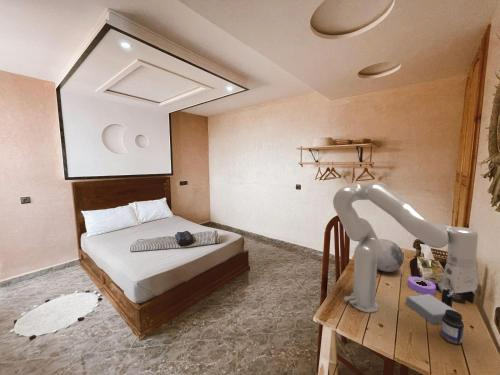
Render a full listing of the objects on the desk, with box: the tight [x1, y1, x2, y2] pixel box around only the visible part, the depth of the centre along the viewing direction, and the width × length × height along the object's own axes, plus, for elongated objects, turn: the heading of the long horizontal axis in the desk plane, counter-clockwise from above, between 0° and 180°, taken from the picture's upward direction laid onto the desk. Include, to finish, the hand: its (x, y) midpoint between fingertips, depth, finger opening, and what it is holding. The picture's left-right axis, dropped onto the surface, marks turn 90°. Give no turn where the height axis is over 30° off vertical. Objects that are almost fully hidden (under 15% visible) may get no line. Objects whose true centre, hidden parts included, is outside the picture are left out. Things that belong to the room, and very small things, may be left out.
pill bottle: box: [440, 309, 465, 345], centre depth 81 cm, size 6×6×11 cm
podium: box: [405, 294, 458, 325], centre depth 96 cm, size 13×13×4 cm
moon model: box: [377, 238, 405, 273], centre depth 133 cm, size 20×20×20 cm
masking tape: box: [407, 276, 437, 296], centre depth 114 cm, size 12×12×4 cm
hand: (457, 302), depth 80 cm, fingers open, 9 cm apart
